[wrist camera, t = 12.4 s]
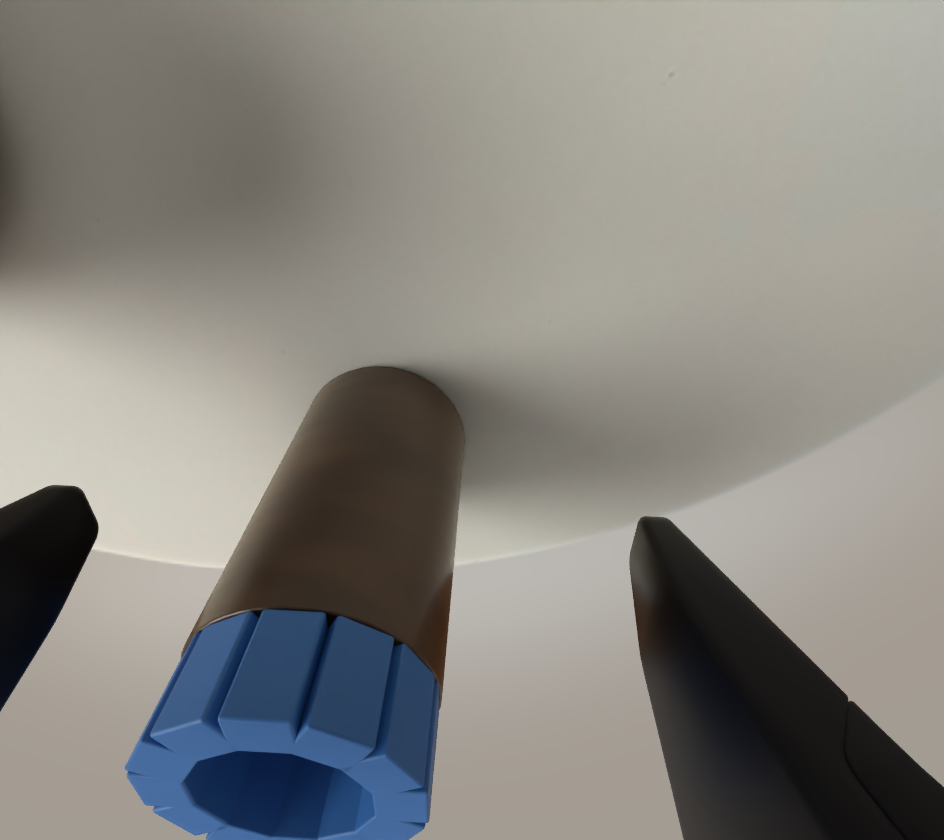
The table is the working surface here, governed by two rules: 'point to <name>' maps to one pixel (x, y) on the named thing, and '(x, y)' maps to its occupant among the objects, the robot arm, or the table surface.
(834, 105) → the table surface
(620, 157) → the table surface
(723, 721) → the robot arm
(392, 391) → the pedestal
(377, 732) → the tape roll
